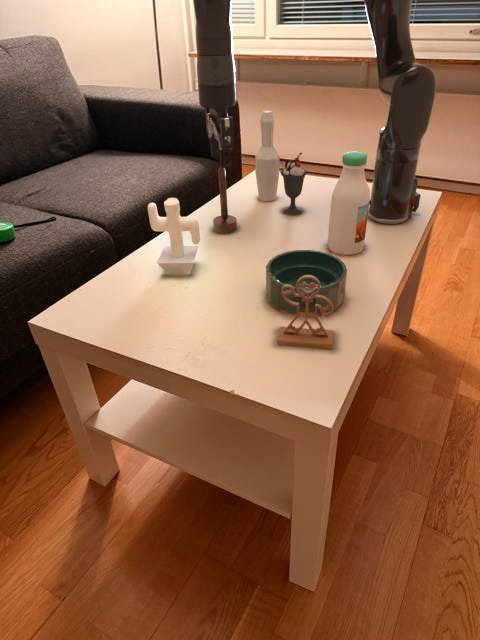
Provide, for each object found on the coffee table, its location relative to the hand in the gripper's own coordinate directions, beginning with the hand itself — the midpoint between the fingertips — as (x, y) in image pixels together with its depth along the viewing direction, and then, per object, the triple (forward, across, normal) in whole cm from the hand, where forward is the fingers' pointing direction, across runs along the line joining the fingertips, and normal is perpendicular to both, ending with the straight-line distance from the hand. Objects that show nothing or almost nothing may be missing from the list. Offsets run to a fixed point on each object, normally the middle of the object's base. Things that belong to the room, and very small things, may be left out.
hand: (221, 161), depth 102 cm
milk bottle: (+16, -19, -22) cm, 33 cm away
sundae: (+16, +4, -19) cm, 25 cm away
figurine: (+16, -16, +14) cm, 27 cm away
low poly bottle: (+16, +15, -16) cm, 27 cm away
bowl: (+16, -34, -6) cm, 38 cm away
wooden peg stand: (+16, 0, 0) cm, 16 cm away
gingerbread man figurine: (+16, -46, -1) cm, 49 cm away
